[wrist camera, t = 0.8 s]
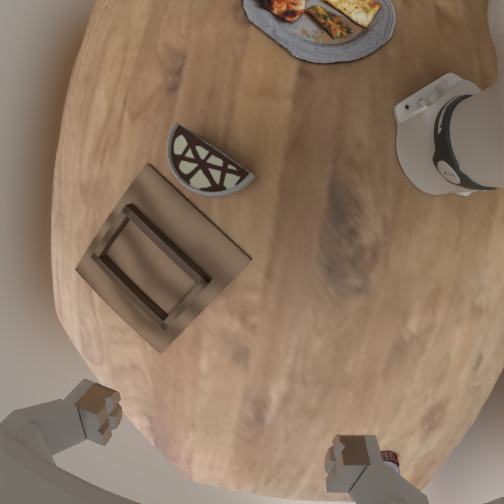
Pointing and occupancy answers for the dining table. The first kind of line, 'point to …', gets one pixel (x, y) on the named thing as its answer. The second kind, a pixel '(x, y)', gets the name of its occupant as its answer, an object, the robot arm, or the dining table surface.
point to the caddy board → (159, 260)
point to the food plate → (324, 26)
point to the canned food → (390, 460)
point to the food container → (204, 165)
